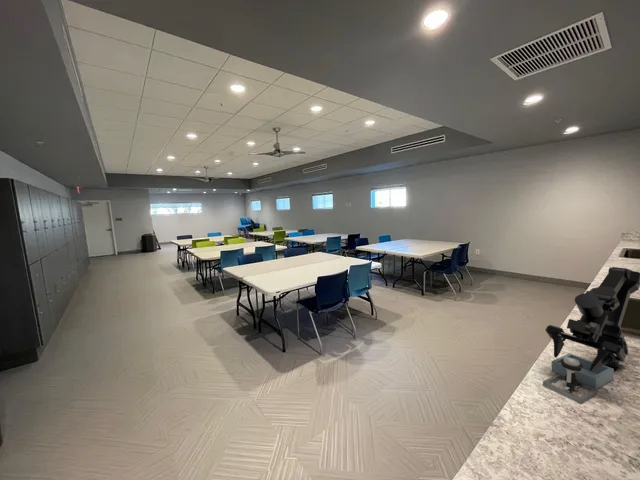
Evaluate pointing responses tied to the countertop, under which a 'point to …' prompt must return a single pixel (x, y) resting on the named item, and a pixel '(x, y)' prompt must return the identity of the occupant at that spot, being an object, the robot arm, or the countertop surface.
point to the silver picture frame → (578, 399)
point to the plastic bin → (585, 372)
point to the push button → (571, 373)
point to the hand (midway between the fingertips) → (572, 363)
